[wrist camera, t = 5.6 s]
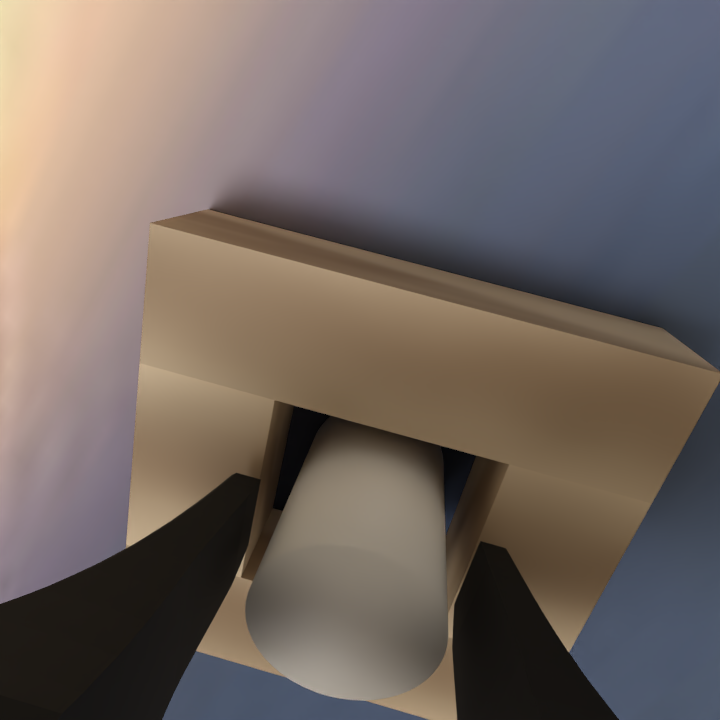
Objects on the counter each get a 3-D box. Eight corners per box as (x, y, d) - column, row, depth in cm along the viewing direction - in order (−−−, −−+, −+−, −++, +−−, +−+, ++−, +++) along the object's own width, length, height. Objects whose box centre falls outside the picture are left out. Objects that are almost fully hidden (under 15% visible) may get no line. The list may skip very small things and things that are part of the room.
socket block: (504, 653, 18) (517, 745, 15) (167, 556, 18) (119, 628, 15) (663, 328, 13) (723, 374, 10) (208, 209, 14) (149, 222, 11)
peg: (413, 534, 17) (402, 725, 11) (295, 489, 16) (224, 657, 11) (465, 431, 15) (483, 593, 9) (335, 382, 15) (276, 514, 9)
